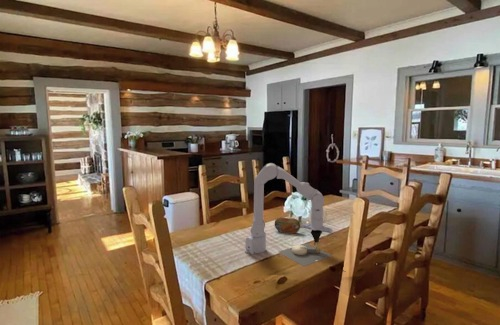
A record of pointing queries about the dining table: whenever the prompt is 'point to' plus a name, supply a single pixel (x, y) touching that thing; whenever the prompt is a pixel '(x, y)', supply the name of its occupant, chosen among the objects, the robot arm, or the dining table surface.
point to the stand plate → (305, 256)
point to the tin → (287, 225)
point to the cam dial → (306, 249)
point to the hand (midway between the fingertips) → (316, 245)
